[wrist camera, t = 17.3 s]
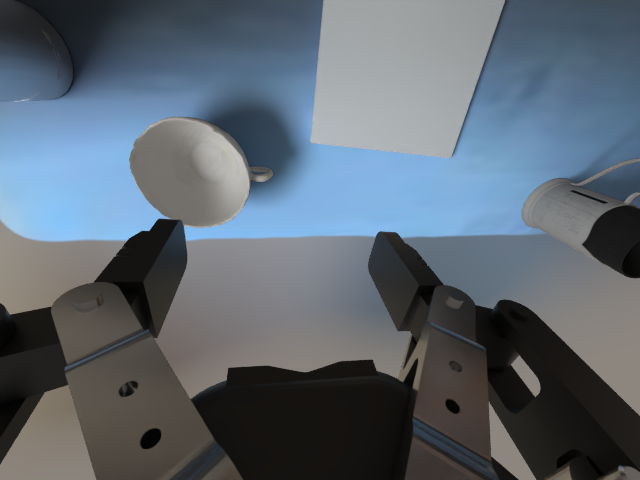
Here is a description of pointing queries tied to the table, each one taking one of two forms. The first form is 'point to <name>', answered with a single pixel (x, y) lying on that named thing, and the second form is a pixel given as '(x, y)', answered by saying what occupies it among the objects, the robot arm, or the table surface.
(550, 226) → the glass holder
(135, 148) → the teacup
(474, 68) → the white rectangular board
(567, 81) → the table surface
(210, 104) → the table surface
